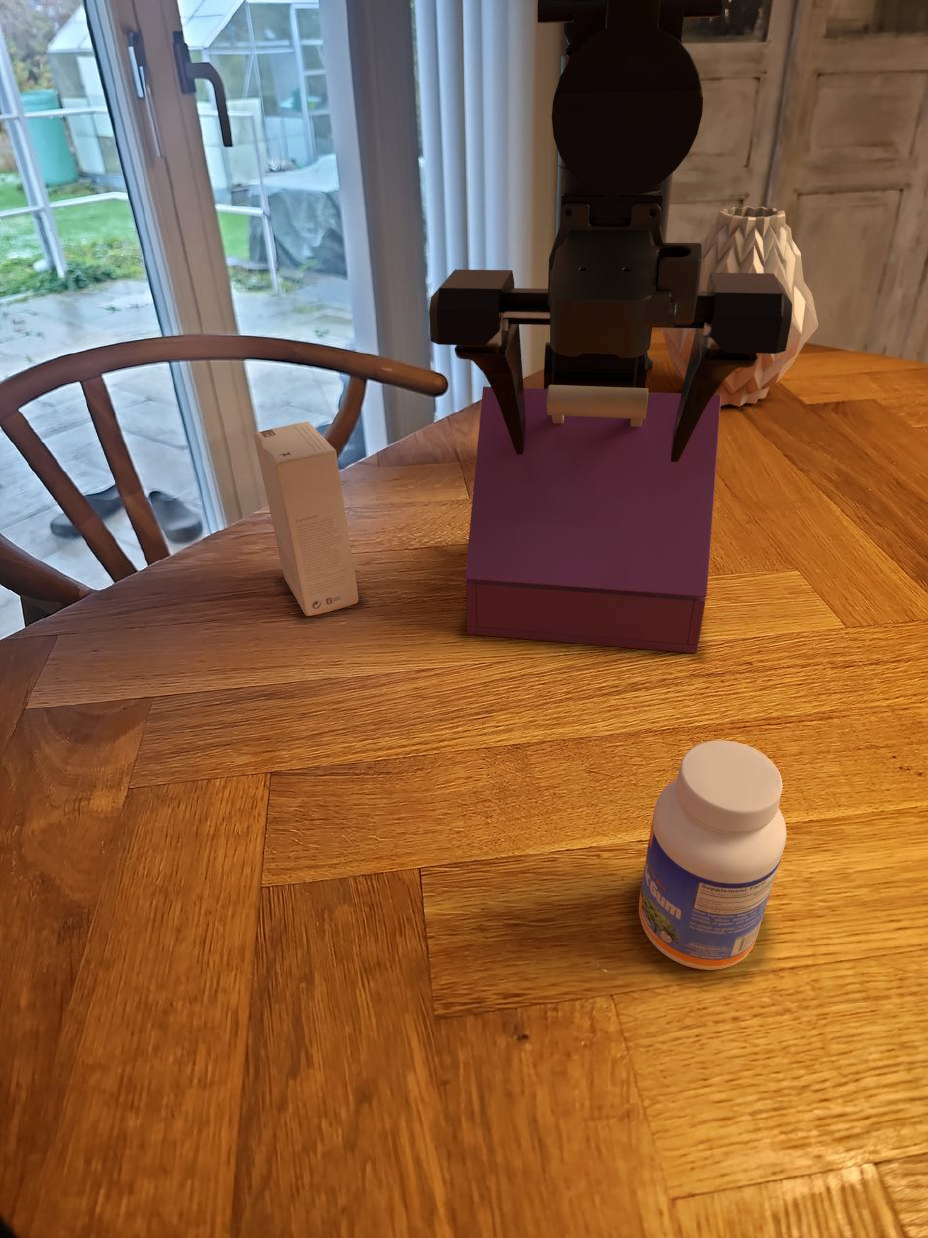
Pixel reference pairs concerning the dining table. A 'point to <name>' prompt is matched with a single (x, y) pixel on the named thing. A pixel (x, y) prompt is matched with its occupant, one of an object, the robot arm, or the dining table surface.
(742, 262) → the vase
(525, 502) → the case cover
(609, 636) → the case
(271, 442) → the cosmetic box
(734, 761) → the pill bottle
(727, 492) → the dining table surface
